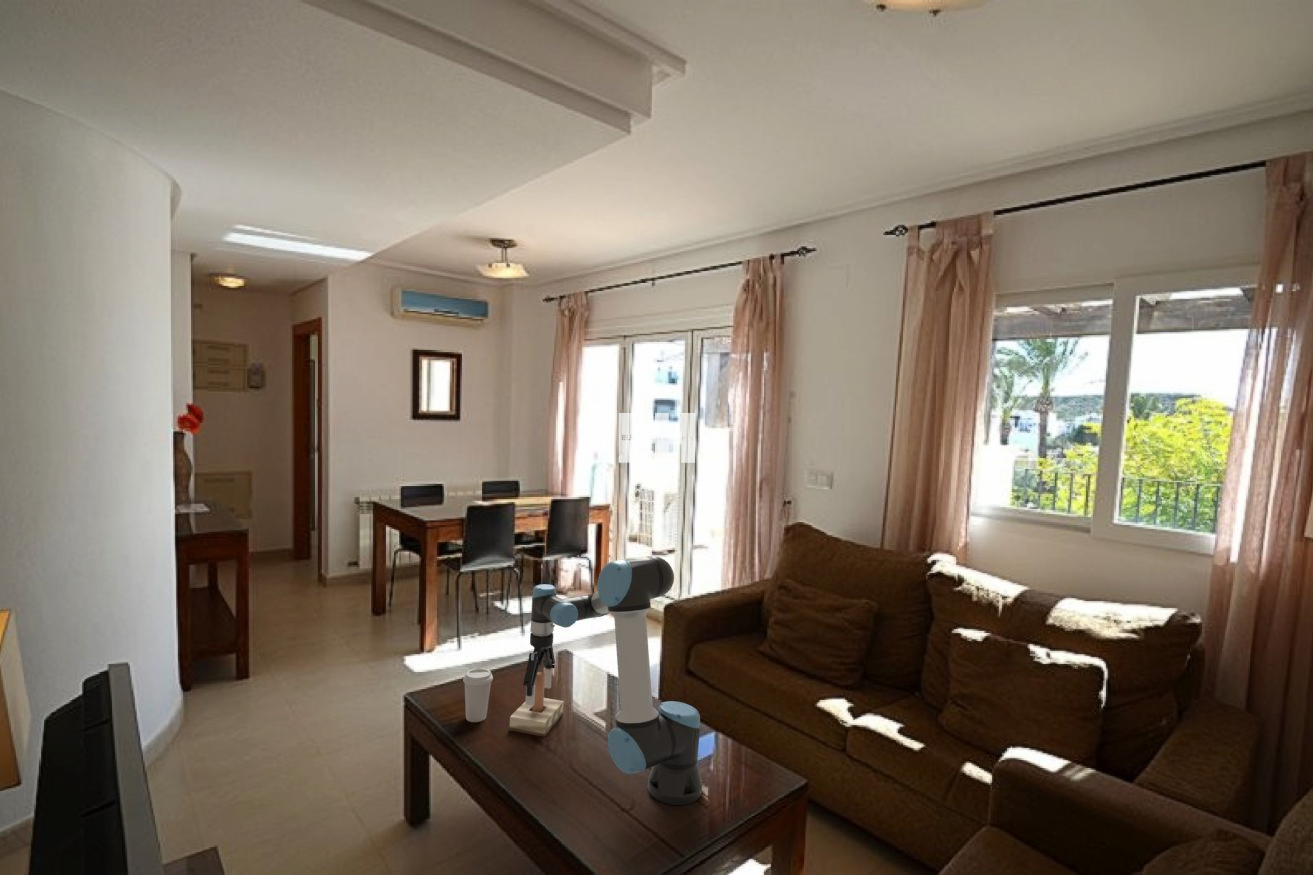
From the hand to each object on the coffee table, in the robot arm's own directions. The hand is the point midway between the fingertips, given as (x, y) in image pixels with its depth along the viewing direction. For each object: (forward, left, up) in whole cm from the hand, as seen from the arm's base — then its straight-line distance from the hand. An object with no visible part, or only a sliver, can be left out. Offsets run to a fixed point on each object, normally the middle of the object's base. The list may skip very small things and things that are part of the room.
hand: (538, 695), depth 207 cm
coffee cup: (-4, +20, -9) cm, 22 cm away
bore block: (0, 0, -9) cm, 9 cm away
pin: (0, 0, -8) cm, 8 cm away
